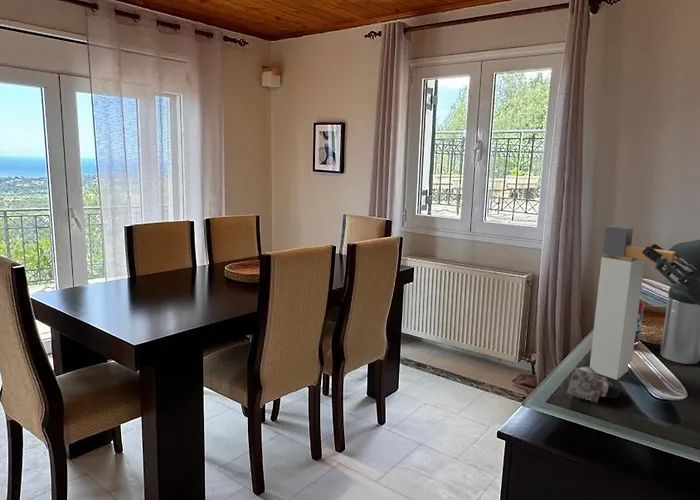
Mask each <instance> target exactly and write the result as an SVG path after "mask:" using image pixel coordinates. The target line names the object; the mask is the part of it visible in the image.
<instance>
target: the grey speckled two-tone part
mask: <svg viewBox="0 0 700 500" xmlns="http://www.w3.org/2000/svg"><path fill="white" fill-rule="evenodd" d="M621 390H622V386H621V385H620V384H619V383H617V382H616V381H615V380H614V379H612V378H610V377H607V376H604V375H601V374H598V373H595V371H594V370H593V369H592V368H590V366H582V367H575V369H574V371H573V374H572V375H571V378H570V383H569V386H568V388H567V394H569V395H570V396H574V397H576V398H579V399H582V400H584V399H585V401H587V400H590V401H595V402H597V403H598V401H599V398H600V397H603V398H611V399H617V398H619V397H620V393H621Z"/></svg>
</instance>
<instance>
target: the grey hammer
mask: <svg viewBox="0 0 700 500" xmlns="http://www.w3.org/2000/svg"><path fill="white" fill-rule="evenodd" d="M604 230H605V231H604V238H603V239H604V241H603V249H602V254H608V255H614V256H620V257H631V258H637V259H643V260H645V261H648V262H649V261H650V262H653V261H652V260H651V259H649V258H648V257H646V256H645V255H644V254H643V253H642V252H643V251H644V250H645V248H646V247H647V246H646V247H644V246H640V245H639V246H638V245H632V240H633V233H634V232H633V231H634V227H633V226H627V225H619V224H610V225H607V226H605V229H604ZM654 250H656V251H657V252H659V253H660V254H661V255H663V256H665V257H666V258H668V259H669V260H671V261H673V260H675V254H676V252H674V251H669V250H667V249H664V250H660V249H654Z"/></svg>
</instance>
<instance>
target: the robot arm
mask: <svg viewBox="0 0 700 500" xmlns="http://www.w3.org/2000/svg"><path fill="white" fill-rule="evenodd" d="M654 249H660V250H665V249H664V248H662V247H661V246H659V245H658V244H656V243H654V244H652V245H651V246H650V245H649V246H646V248H645V250H644V251H643V252H642V253H643V254H644V255H645V256H646V257H648V258H649V259H651V260H652V261H651V262H653V263H654V264H655V266H654V268H655V269H656V270H657V271H658V272H659V273H660V274H661V275H662V276H663V277H665V278H666V279H667V280H668V281H669V282H670V283H671V284H672V285H670V287H669V290H668V297H667V302H666V311H665V318H664V324H663V331H662V332H663V333H662V338H661V339H662V340H661V344H660V353H659V354H660V356H661V357H662V358H664V359H666V360H668V361H672V362H674V363H679V364H685V365H686V364H687V365H693V364H698V363H699V361H700V239H695V240H691V241H685V242H679V243H676V244H675V245H673V246H672V247H670V248H669V249H668V251H674V252H676V254H675V260H673V261H671V260H669V259H668V258H666V257H665V256H663V255H661V254H660V253H659V252H657V251H656V250H654Z"/></svg>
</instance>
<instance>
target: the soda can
mask: <svg viewBox="0 0 700 500" xmlns="http://www.w3.org/2000/svg"><path fill="white" fill-rule="evenodd" d="M642 299H643V297H642V296H641V295H640V302H639V310H638V318H637V325H636V333H635V341H634V343H636V342H639V343H640V339H641V338H640V337H641V332H642V331H641V330H642V323H643V315H644V307H645V303H644V300H642Z"/></svg>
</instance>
